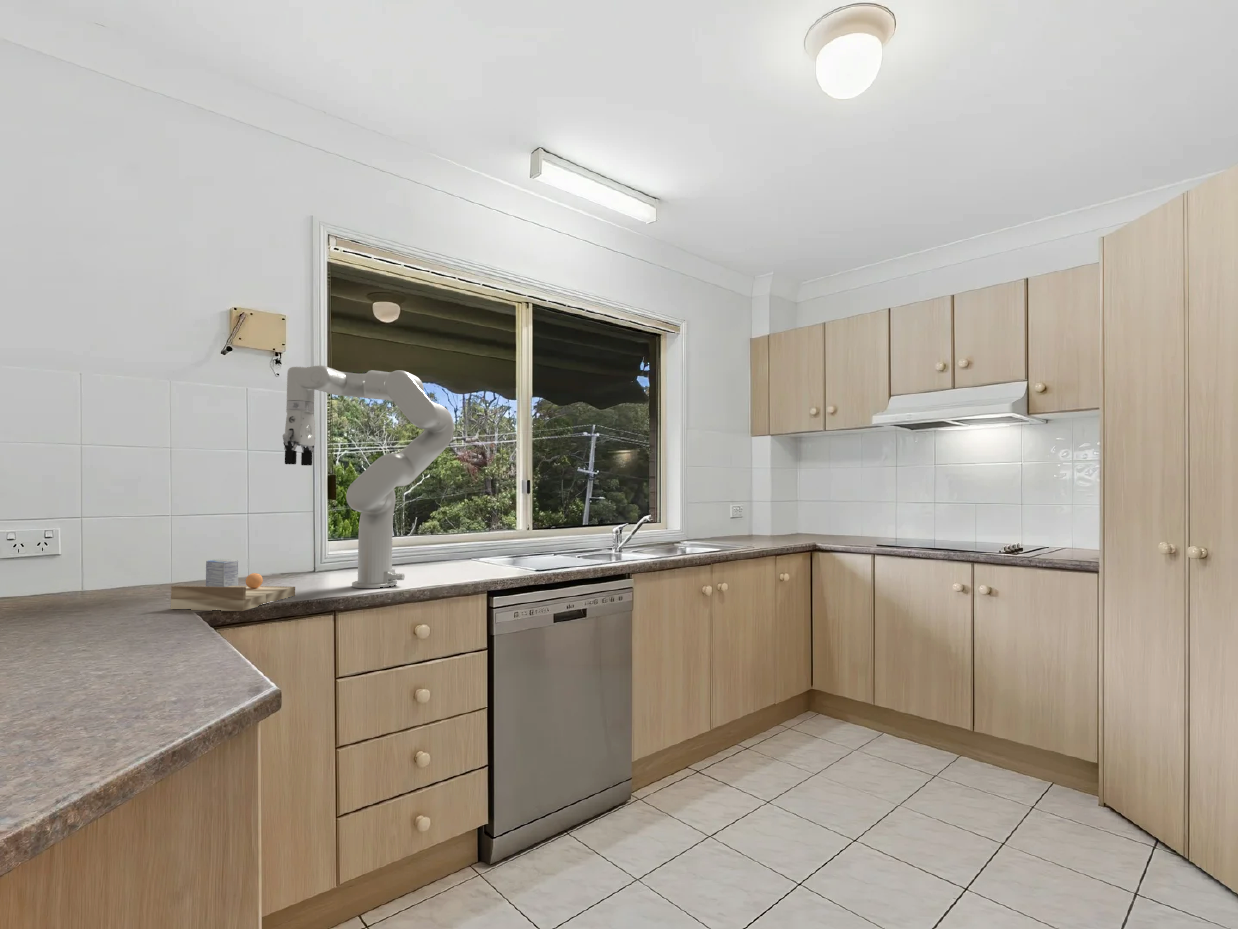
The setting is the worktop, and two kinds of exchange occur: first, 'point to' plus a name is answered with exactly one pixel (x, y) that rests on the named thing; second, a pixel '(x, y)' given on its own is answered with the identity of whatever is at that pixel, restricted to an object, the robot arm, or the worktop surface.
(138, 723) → the worktop surface
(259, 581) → the ball
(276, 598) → the board
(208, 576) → the medicine box
